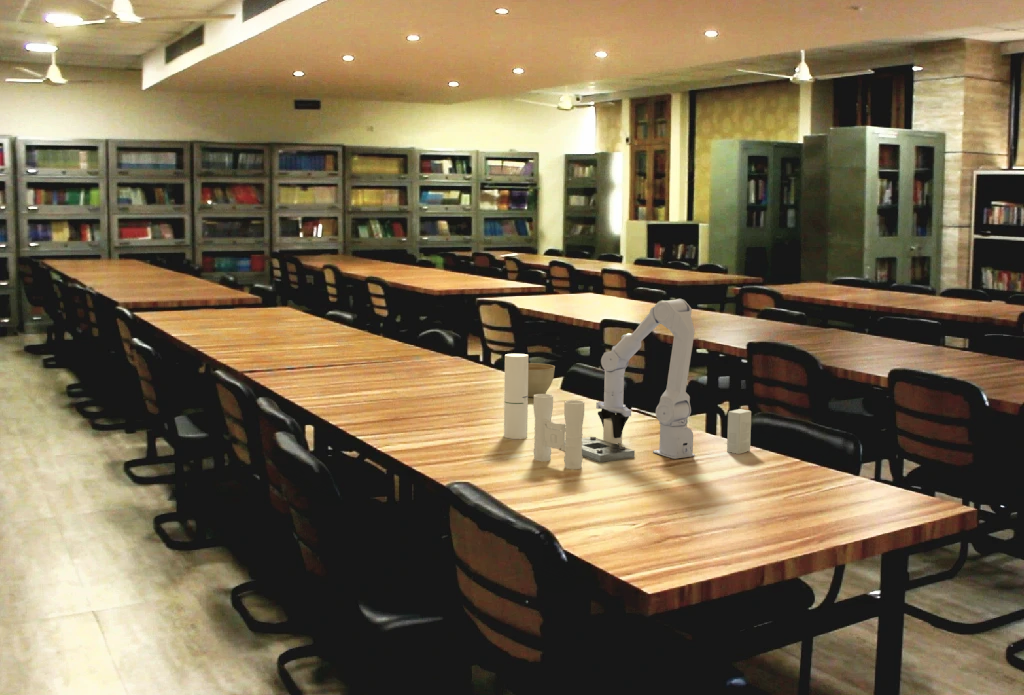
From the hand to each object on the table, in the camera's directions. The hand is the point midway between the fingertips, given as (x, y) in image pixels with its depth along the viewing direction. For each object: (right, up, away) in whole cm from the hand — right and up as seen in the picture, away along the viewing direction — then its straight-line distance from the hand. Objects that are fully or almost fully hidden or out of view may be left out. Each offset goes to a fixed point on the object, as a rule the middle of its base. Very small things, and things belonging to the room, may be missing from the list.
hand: (612, 436), depth 318 cm
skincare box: (+36, -4, -9) cm, 37 cm away
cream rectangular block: (0, -2, 0) cm, 2 cm away
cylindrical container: (-29, -1, +7) cm, 30 cm away
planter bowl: (-22, +9, +75) cm, 79 cm away
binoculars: (-18, -6, -25) cm, 31 cm away
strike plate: (-6, -4, -13) cm, 15 cm away
